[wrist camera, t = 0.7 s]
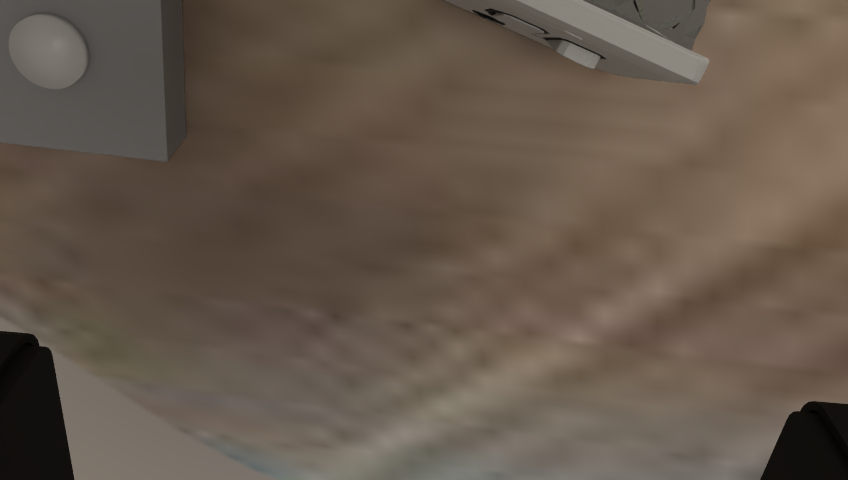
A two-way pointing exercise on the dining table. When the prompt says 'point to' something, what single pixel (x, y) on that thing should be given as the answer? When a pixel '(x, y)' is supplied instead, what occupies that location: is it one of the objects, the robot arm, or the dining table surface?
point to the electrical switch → (610, 33)
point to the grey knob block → (93, 76)
